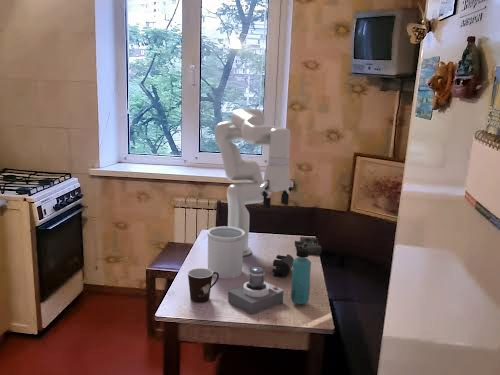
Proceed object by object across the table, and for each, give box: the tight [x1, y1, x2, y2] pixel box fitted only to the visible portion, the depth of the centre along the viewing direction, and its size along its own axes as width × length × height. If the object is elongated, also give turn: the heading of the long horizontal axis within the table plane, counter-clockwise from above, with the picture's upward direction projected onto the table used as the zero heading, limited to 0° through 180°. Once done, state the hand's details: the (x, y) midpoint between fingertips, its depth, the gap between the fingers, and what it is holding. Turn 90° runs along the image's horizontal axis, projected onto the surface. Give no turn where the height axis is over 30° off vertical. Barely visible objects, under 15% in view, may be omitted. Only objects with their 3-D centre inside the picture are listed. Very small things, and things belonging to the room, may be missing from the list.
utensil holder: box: [206, 225, 245, 279], centre depth 180 cm, size 15×15×18 cm
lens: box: [248, 266, 266, 290], centre depth 156 cm, size 5×5×8 cm
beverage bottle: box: [290, 248, 312, 305], centre depth 155 cm, size 6×7×20 cm
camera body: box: [227, 280, 285, 315], centre depth 157 cm, size 12×15×6 cm
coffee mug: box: [187, 267, 220, 304], centre depth 157 cm, size 12×9×10 cm
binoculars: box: [294, 236, 323, 255], centre depth 215 cm, size 11×16×6 cm
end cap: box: [272, 254, 295, 278], centre depth 184 cm, size 10×7×7 cm
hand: (275, 205), depth 171 cm, fingers open, 9 cm apart
